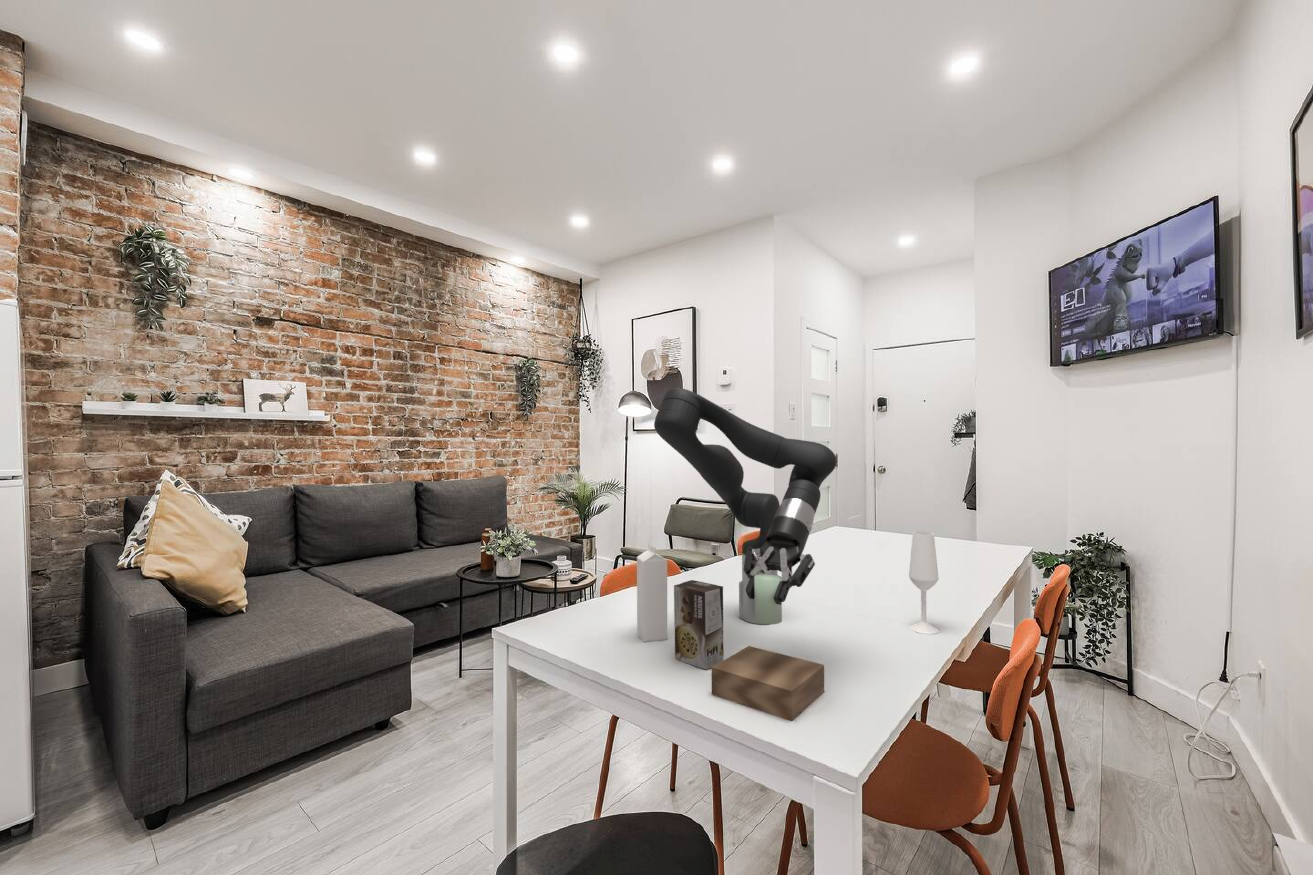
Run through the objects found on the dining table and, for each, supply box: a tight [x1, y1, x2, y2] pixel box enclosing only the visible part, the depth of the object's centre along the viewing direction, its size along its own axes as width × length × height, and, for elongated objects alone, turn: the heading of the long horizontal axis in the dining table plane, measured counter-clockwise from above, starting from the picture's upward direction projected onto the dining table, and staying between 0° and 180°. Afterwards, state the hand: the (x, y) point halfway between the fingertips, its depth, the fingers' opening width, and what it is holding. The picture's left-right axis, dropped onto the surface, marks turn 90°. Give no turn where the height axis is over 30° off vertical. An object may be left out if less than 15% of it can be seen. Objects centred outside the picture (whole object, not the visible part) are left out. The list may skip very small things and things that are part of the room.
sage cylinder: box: [754, 574, 783, 625], centre depth 105 cm, size 5×5×8 cm
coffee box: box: [673, 579, 725, 670], centre depth 120 cm, size 9×6×16 cm
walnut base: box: [711, 645, 825, 722], centre depth 104 cm, size 16×14×5 cm
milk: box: [636, 543, 668, 643], centre depth 135 cm, size 6×6×22 cm
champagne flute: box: [908, 530, 940, 635], centre depth 140 cm, size 7×7×24 cm
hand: (763, 598), depth 103 cm, fingers closed on sage cylinder, 5 cm apart
